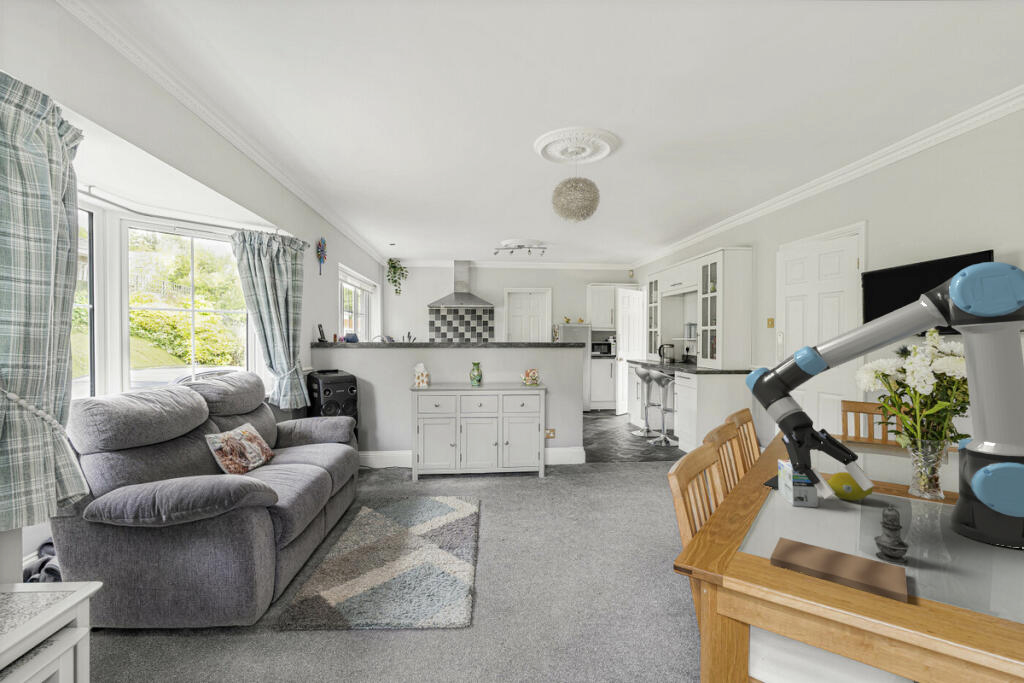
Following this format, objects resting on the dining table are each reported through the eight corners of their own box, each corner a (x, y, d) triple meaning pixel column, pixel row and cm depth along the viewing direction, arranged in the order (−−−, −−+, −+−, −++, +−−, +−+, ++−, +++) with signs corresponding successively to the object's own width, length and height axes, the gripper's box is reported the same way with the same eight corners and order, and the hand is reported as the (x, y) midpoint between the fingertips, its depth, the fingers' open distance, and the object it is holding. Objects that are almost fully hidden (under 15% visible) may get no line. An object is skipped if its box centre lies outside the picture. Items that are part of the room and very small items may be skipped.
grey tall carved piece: (873, 549, 99) (873, 497, 99) (908, 557, 96) (907, 503, 96) (874, 559, 95) (873, 505, 95) (910, 568, 91) (910, 511, 91)
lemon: (822, 497, 131) (822, 471, 131) (833, 491, 135) (833, 466, 135) (866, 509, 122) (866, 480, 122) (877, 502, 126) (876, 475, 126)
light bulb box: (818, 507, 123) (818, 470, 123) (792, 506, 125) (791, 469, 125) (801, 494, 134) (800, 459, 134) (777, 493, 135) (776, 458, 135)
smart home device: (761, 483, 141) (783, 470, 154) (762, 488, 141) (783, 474, 154) (791, 489, 134) (811, 475, 147) (791, 495, 134) (811, 480, 147)
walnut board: (905, 575, 89) (904, 567, 89) (907, 603, 80) (907, 595, 80) (780, 543, 103) (780, 537, 103) (770, 564, 94) (770, 557, 94)
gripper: (813, 422, 123) (872, 492, 109) (746, 430, 115) (801, 506, 101) (832, 406, 118) (897, 477, 104) (764, 413, 110) (824, 491, 96)
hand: (850, 492), depth 103 cm, fingers open, 13 cm apart
